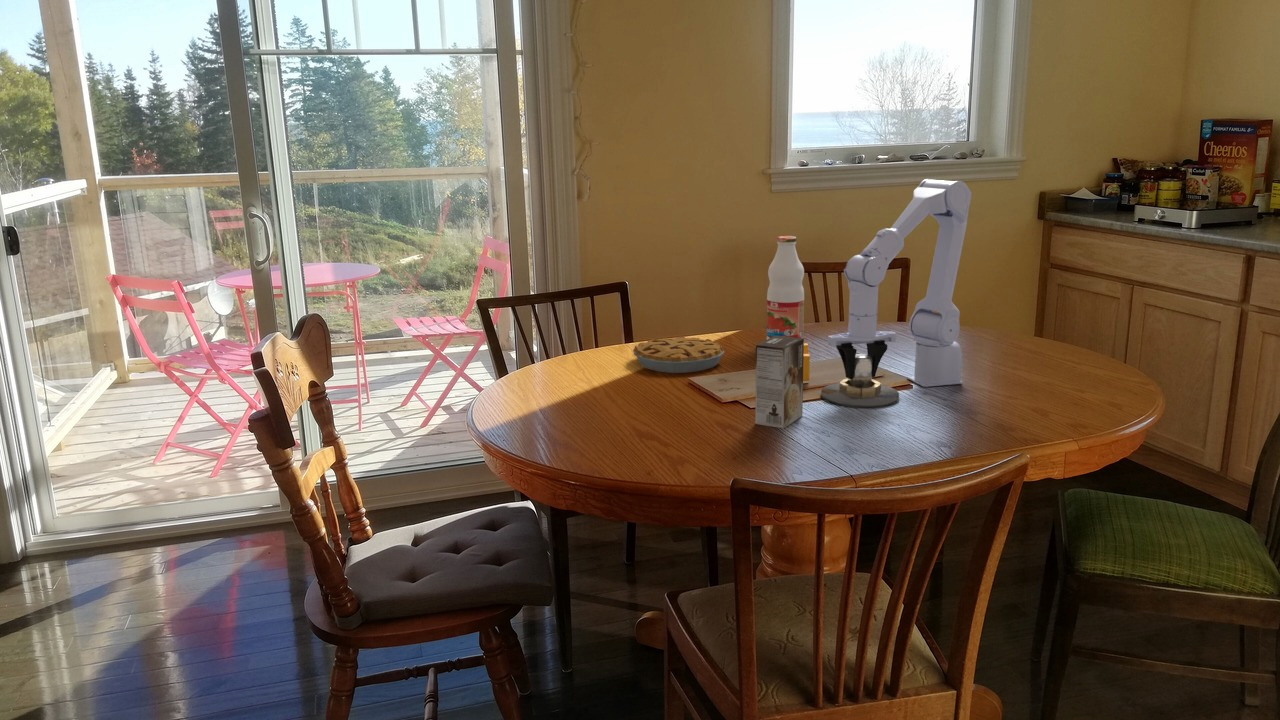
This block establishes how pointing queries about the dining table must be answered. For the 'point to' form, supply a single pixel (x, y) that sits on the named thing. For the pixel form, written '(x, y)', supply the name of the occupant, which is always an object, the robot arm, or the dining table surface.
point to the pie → (678, 354)
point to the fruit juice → (785, 291)
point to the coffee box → (779, 381)
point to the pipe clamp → (806, 363)
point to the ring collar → (860, 395)
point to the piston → (862, 371)
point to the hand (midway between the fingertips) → (860, 377)
